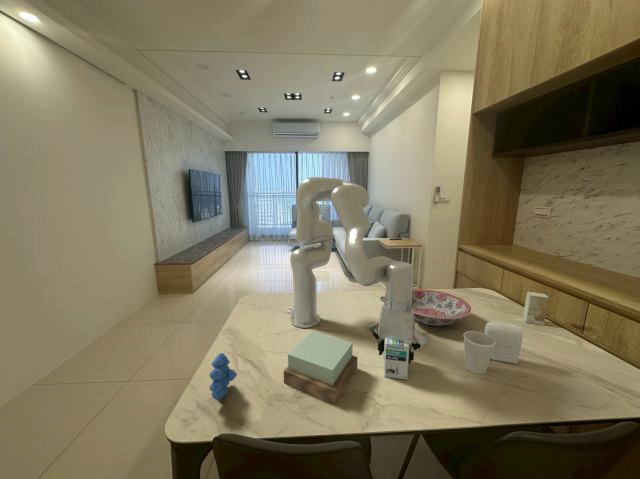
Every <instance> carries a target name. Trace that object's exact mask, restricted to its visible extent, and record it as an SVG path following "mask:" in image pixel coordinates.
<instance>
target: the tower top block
mask: <svg viewBox="0 0 640 479" xmlns="http://www.w3.org/2000/svg"><path fill="white" fill-rule="evenodd" d="M353 344H354V343H353V342H350V341H347V340H345V339H341V338H337V337H333V336H330V335H327V334H324V333H319V332H316V331H311V332H310V333H309V334H308V335H307V336H305V338H304V339H303V340H302V341H300V343H298V344H297V345H296V346H295V347H294V348H293V349H292V350H291V351H290V352H289V353H288V354H287V367H288V369H290V370H293V371H296V372H298V373H301V374H303V375H306V376H309V377H311V378H314V379H316V380H319V381H322V382H324V383H327V384H329V385H332V386H333V384H334V383H335V381H336V380H337V378H338V377H339V375H340V374H341V372H342V371H343V369H344V368H345V366H346V365H347V364H348V362H349V361H350V359H351V358H352V355H353V349H354V347H353Z"/></svg>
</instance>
